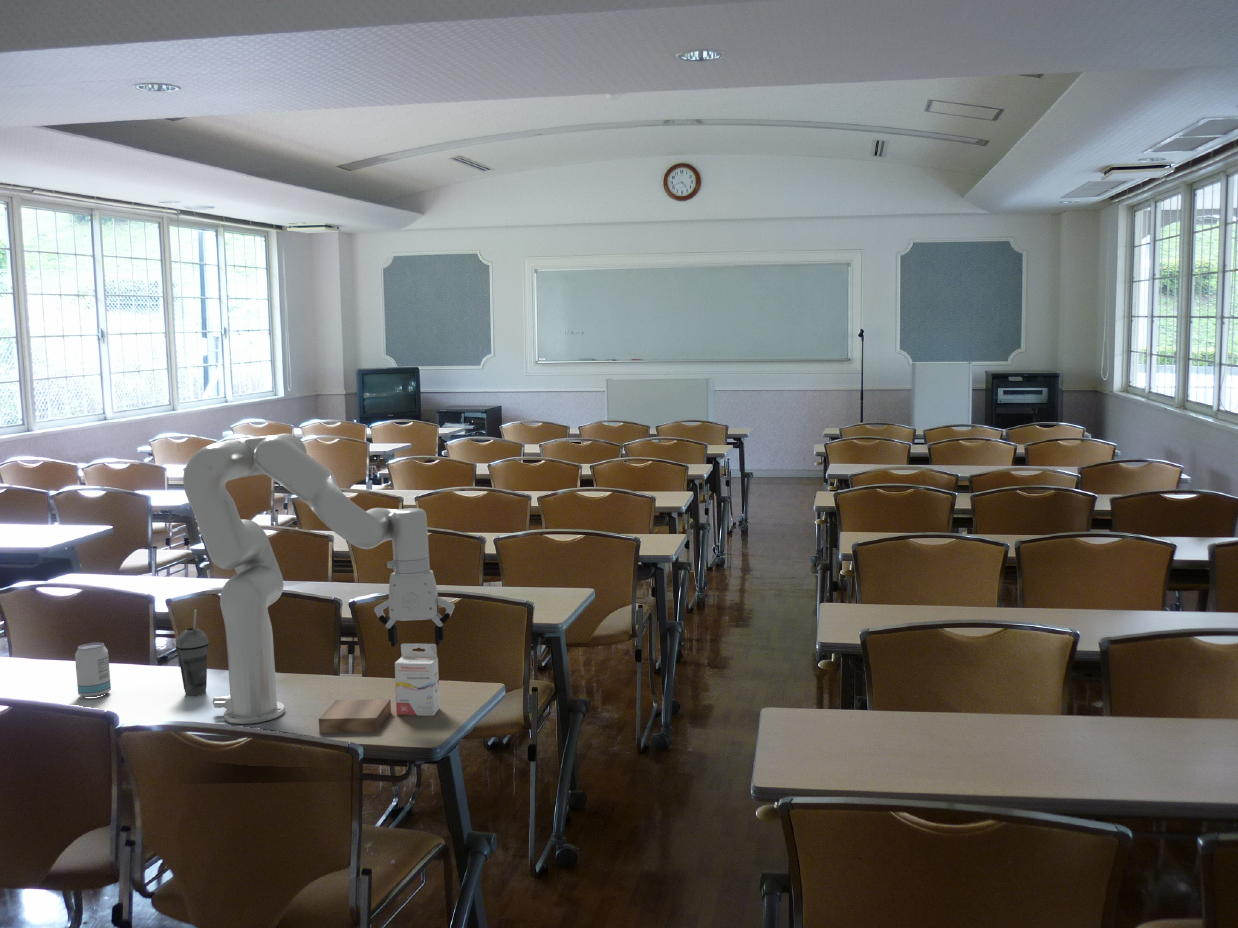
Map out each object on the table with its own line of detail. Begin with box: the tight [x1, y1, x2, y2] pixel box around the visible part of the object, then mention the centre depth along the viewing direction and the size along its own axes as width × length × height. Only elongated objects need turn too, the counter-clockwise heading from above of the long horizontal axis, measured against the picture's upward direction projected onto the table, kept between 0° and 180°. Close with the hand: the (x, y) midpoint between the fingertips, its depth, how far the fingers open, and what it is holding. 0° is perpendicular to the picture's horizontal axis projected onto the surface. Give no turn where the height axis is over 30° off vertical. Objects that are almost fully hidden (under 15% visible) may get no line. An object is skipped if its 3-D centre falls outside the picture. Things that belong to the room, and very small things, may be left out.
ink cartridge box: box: [394, 643, 441, 717], centre depth 229 cm, size 9×5×15 cm, turn 84°
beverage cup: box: [175, 608, 210, 697], centre depth 246 cm, size 7×7×20 cm
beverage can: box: [74, 642, 112, 698], centre depth 247 cm, size 7×7×12 cm
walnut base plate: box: [318, 698, 392, 734], centre depth 224 cm, size 12×12×3 cm
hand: (416, 644), depth 228 cm, fingers open, 9 cm apart
